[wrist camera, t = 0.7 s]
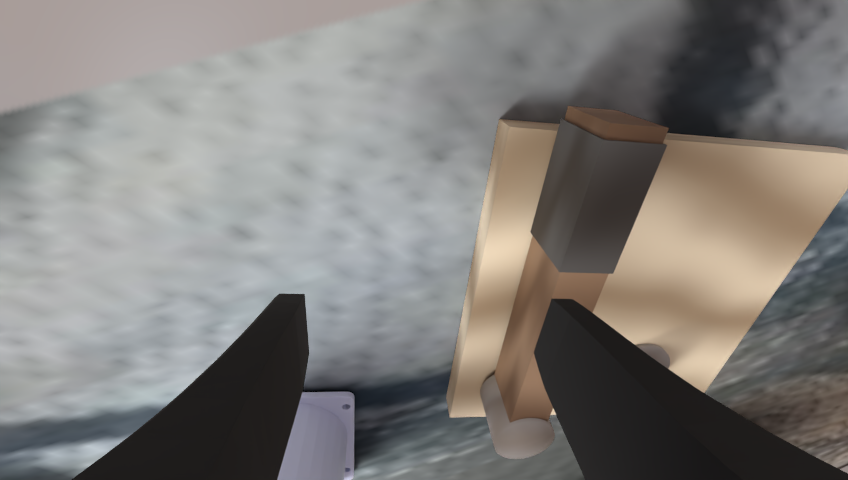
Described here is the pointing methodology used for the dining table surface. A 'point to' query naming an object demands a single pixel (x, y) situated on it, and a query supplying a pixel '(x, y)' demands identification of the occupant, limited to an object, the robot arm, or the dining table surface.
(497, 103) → the dining table surface
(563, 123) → the lever
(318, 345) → the dining table surface
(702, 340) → the board
